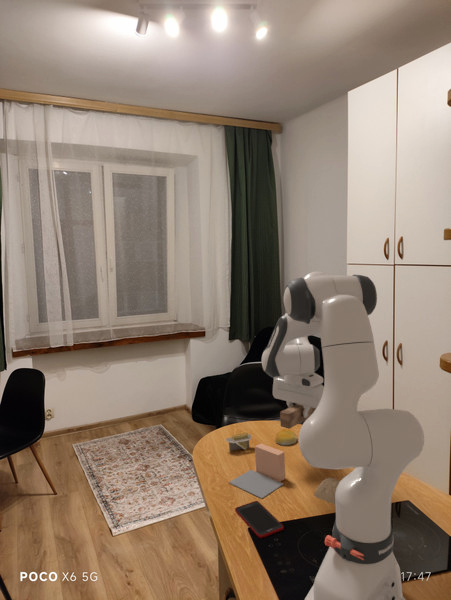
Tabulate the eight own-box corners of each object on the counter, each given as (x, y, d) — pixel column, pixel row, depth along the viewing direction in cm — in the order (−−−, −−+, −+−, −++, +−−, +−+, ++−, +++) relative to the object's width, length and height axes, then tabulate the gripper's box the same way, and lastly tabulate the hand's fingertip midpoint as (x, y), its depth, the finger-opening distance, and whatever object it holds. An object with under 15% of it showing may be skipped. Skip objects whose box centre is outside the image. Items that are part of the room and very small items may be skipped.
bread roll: (274, 445, 163) (273, 435, 163) (277, 436, 172) (276, 426, 171) (296, 446, 161) (295, 436, 161) (297, 436, 170) (297, 427, 170)
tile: (279, 482, 137) (278, 455, 136) (256, 472, 144) (255, 446, 143) (285, 478, 139) (284, 451, 138) (262, 468, 146) (260, 443, 145)
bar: (289, 428, 141) (288, 414, 141) (280, 426, 144) (280, 411, 143) (316, 414, 152) (315, 401, 152) (308, 412, 155) (307, 399, 154)
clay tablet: (341, 511, 120) (341, 502, 120) (310, 499, 127) (310, 490, 127) (363, 488, 131) (363, 480, 131) (333, 478, 138) (333, 470, 138)
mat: (261, 498, 128) (261, 497, 128) (229, 483, 138) (229, 482, 138) (283, 484, 135) (283, 483, 135) (250, 470, 145) (250, 469, 145)
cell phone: (257, 503, 126) (257, 500, 126) (285, 530, 113) (285, 526, 113) (234, 511, 123) (233, 508, 123) (260, 540, 110) (259, 536, 110)
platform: (268, 453, 158) (267, 436, 157) (222, 462, 153) (221, 445, 152) (256, 440, 169) (255, 424, 169) (213, 449, 164) (212, 432, 163)
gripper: (267, 373, 152) (269, 411, 153) (316, 383, 137) (318, 424, 138) (279, 369, 156) (280, 406, 157) (327, 378, 142) (328, 419, 143)
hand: (298, 415), depth 148 cm, fingers closed on bar, 3 cm apart
